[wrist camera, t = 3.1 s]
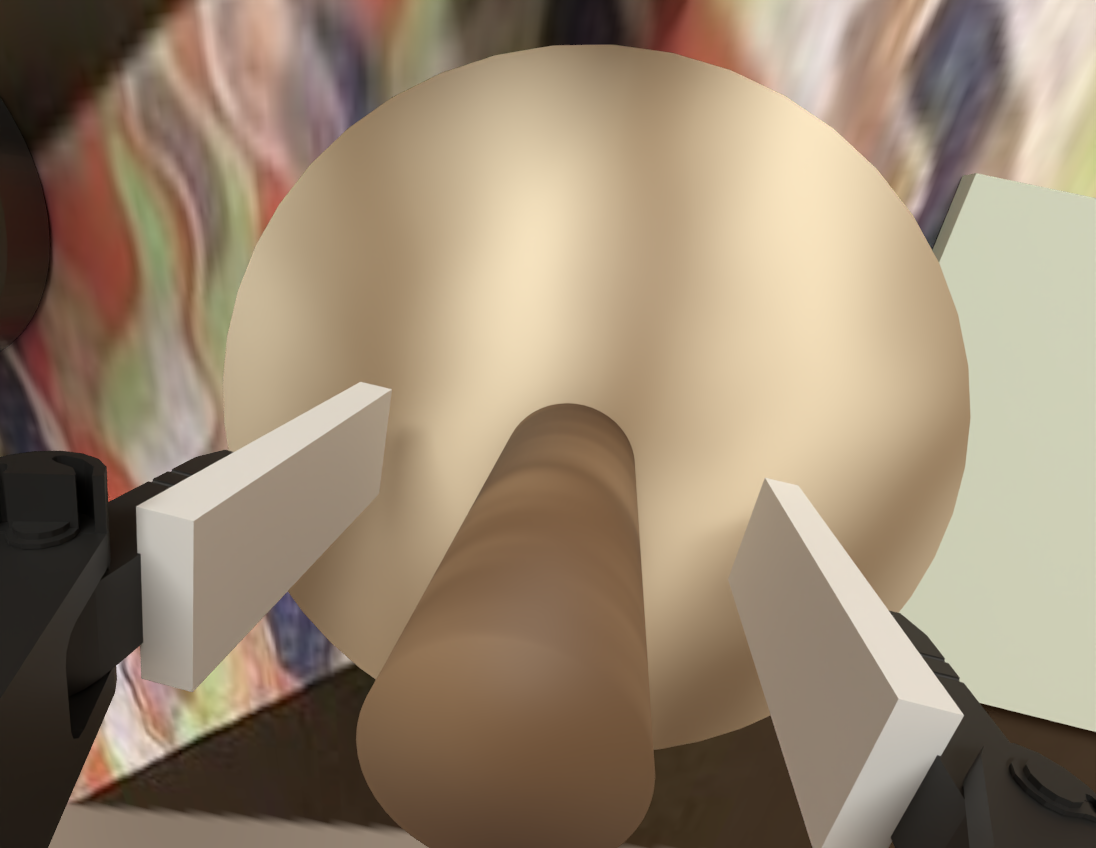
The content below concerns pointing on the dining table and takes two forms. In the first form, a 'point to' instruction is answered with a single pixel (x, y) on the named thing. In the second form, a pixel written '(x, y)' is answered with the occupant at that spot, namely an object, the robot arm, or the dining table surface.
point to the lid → (591, 413)
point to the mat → (1021, 454)
